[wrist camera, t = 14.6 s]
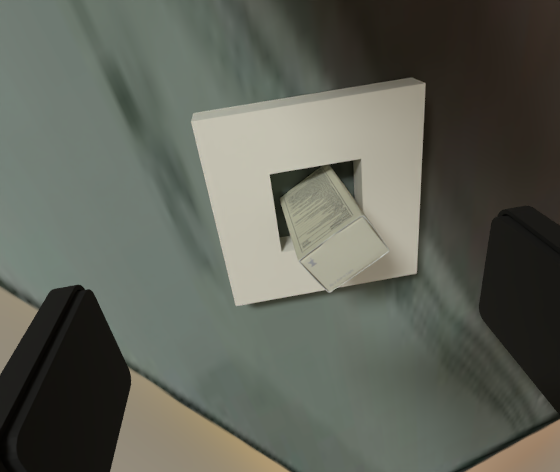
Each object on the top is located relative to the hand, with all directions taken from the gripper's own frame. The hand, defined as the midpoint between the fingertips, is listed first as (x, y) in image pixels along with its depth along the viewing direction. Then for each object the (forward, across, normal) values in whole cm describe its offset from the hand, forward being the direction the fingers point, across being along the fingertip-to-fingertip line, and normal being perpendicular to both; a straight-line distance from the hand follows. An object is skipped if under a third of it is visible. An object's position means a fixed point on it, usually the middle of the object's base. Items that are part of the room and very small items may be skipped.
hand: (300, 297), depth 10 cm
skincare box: (+31, -5, +12) cm, 33 cm away
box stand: (+30, -5, +12) cm, 33 cm away
